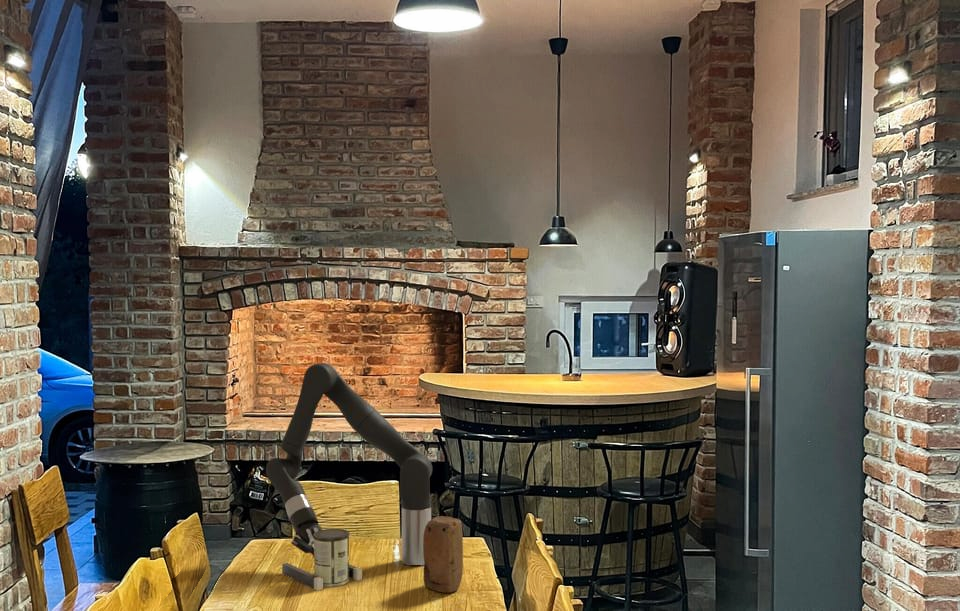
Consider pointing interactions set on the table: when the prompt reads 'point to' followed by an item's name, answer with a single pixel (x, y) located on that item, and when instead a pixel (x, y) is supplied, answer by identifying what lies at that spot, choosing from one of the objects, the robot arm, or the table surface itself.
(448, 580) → the block
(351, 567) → the grey parallel rails
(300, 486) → the robot arm
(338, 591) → the table surface
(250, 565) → the table surface
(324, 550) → the coffee can
